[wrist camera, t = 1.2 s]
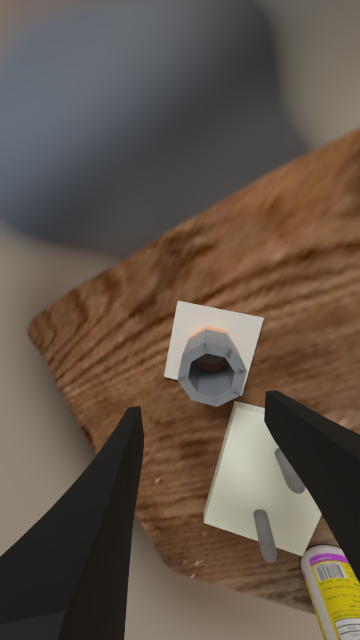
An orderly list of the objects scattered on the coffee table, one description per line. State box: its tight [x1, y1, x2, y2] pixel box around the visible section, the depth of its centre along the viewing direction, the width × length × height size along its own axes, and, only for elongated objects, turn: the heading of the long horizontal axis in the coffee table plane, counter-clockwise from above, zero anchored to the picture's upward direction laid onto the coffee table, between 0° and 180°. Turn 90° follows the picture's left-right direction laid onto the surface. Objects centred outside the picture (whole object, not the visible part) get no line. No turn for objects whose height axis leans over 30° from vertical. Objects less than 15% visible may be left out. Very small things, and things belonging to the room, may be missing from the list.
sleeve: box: [177, 326, 247, 407], centre depth 17 cm, size 5×5×6 cm
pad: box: [164, 301, 264, 396], centre depth 20 cm, size 9×9×1 cm
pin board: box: [204, 401, 322, 563], centre depth 20 cm, size 12×17×5 cm
